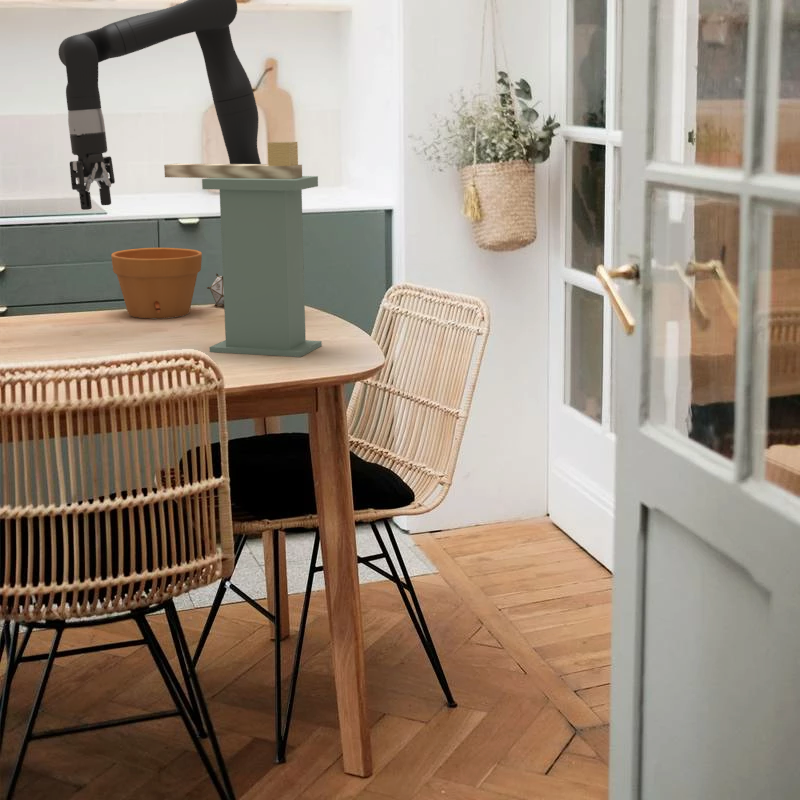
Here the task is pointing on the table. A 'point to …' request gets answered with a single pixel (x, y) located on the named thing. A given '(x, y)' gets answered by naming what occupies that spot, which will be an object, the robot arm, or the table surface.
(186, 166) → the wooden plank
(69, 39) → the robot arm
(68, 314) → the table surface
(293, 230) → the shelf stand
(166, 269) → the flower pot
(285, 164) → the cube
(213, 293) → the game die
